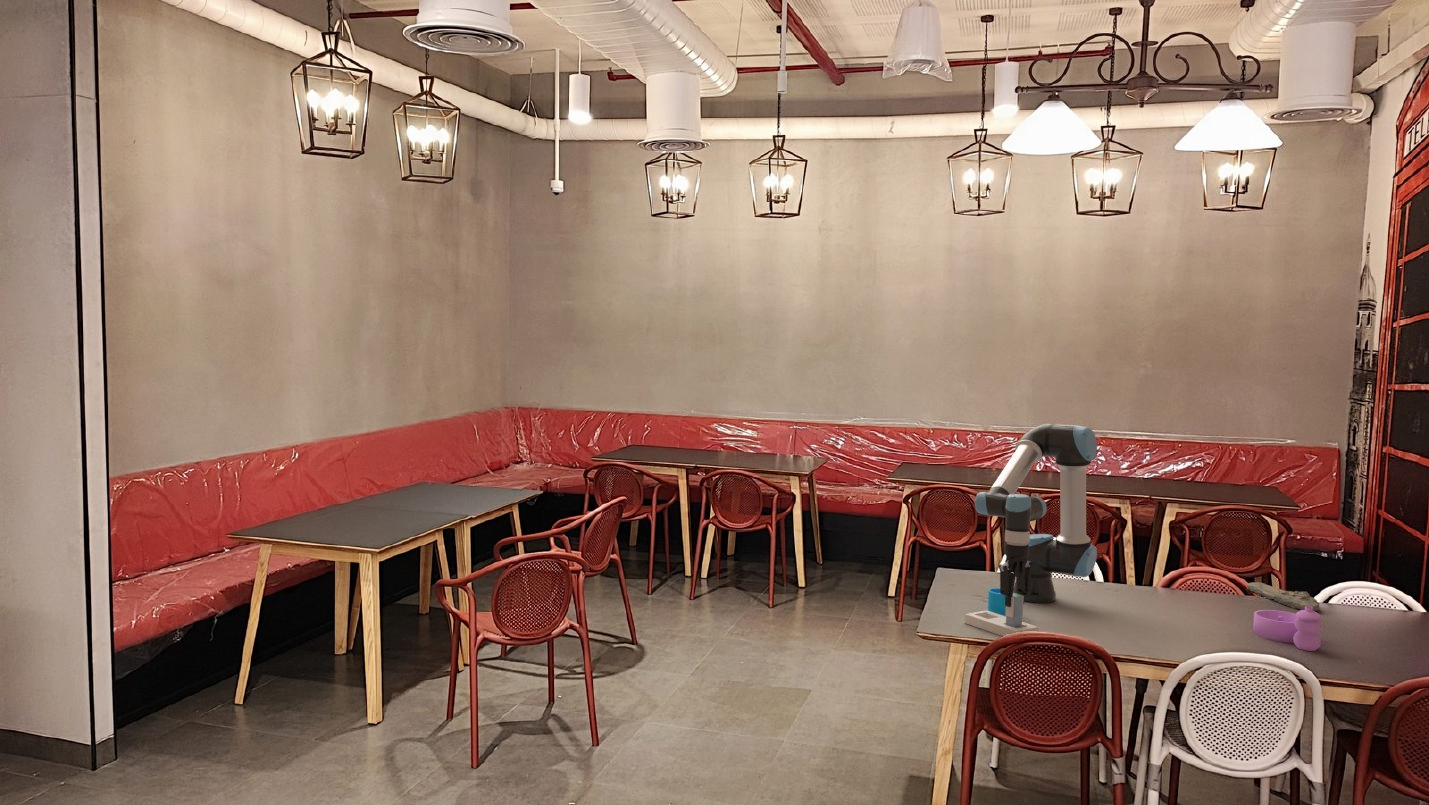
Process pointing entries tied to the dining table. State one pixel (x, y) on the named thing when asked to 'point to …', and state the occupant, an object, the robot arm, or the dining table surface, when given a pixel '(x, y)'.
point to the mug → (996, 601)
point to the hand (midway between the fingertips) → (1014, 615)
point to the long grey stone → (1284, 596)
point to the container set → (1289, 627)
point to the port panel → (995, 623)
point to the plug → (1016, 612)
